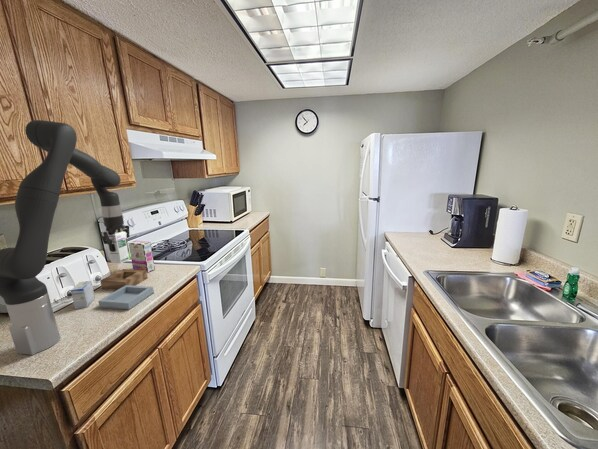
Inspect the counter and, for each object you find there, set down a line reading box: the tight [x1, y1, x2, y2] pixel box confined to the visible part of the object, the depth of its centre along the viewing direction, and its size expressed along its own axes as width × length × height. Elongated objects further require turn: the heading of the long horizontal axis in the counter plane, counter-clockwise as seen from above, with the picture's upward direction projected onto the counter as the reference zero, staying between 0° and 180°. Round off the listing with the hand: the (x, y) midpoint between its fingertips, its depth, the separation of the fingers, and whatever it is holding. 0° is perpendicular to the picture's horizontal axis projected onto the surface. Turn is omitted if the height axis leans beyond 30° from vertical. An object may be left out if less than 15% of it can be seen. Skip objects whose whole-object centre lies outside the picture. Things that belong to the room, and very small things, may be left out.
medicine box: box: [70, 280, 96, 310], centre depth 107 cm, size 8×4×9 cm, turn 21°
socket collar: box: [99, 268, 149, 291], centre depth 125 cm, size 13×13×4 cm
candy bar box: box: [128, 240, 156, 274], centre depth 139 cm, size 11×5×16 cm, turn 71°
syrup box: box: [107, 231, 131, 264], centre depth 121 cm, size 6×6×14 cm
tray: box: [97, 285, 155, 311], centre depth 110 cm, size 14×14×3 cm
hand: (119, 249), depth 121 cm, fingers closed on syrup box, 5 cm apart
